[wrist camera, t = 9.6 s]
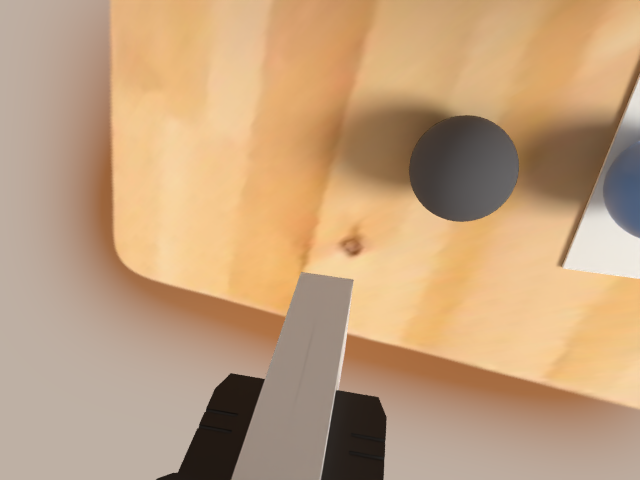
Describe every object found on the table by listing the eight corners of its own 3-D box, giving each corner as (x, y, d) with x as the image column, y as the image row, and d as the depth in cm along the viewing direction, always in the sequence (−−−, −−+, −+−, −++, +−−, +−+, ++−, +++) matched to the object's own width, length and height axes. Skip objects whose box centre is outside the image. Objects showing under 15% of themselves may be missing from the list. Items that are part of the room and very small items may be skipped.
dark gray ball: (520, 149, 20) (544, 120, 24) (403, 117, 23) (443, 94, 27) (483, 254, 23) (510, 212, 27) (383, 216, 26) (422, 182, 30)
